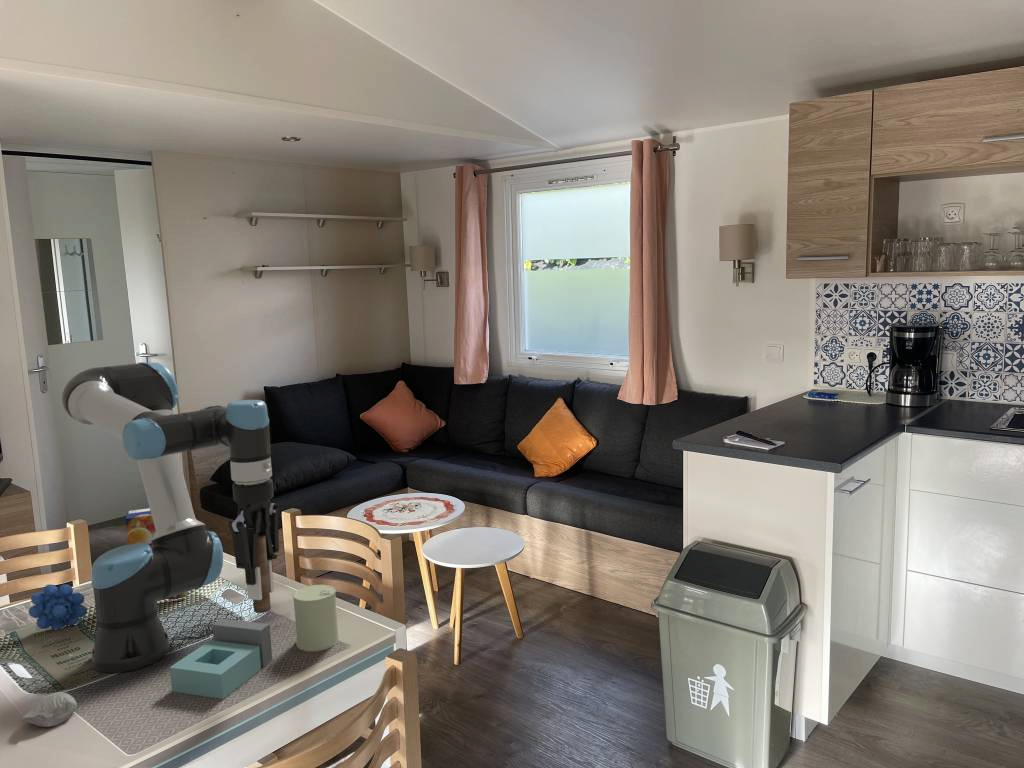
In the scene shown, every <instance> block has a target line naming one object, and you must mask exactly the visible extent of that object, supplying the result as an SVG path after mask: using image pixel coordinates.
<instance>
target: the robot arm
mask: <svg viewBox="0 0 1024 768" xmlns="http://www.w3.org/2000/svg"><path fill="white" fill-rule="evenodd" d="M178 390H179V389H178V385H177V382H176V379H175V378H174V376H173V374H172V373H171V370H169V369H168V367H166V366H165V365H163V364H162V363H159V362H140V361H139V362H138V363H137V362H136V363H129V364H119V365H110V366H98V367H91V368H88V369H85V370H82V371H79V373H77V374H76V375H74V376H73V377H72V378H71V379H69V381H68V382H67V383H66V385H65V386H64V388H63V391H62V396H61V403H62V406H63V408H64V410H65V412H66V414H68V416H69V417H71V418H72V419H73V420H75V421H77V422H79V423H81V424H84V425H88V426H89V425H92V426H93V425H94V426H96V427H99V428H100V429H103V430H105V431H106V432H107V433H109V434H112V435H113V436H115V437H117V438H119V439H121V440H122V445H123V448H124V450H125V452H126V453H127V455H128V457H129V458H131V459H132V460H134V461H135V460H136V463H137V466H138V469H139V473H140V476H141V480H142V483H143V484H142V485H143V487H144V491H145V495H146V498H147V499H146V500H147V503H148V506H149V508H150V510H151V514H152V518H153V521H154V525H155V529H156V532H155V534H154V536H153V537H152V539H151V543H152V546H153V547H152V548H151V547H150V546H149V545H148V544H146V543H134V544H132V545H129V544H128V543H127V544H123V545H121V546H118V547H114V548H113V549H110V550H108V551H106V552H104V553H103V554H101V555H100V556H98V557H97V559H95V561H94V562H93V564H92V567H91V575H92V579H91V586H92V588H93V595H94V596H93V597H94V599H93V600H94V606H95V614H96V615H95V616H96V622H97V631H96V634H95V638H94V644H93V645H94V646H93V648H92V651H91V665H92V668H93V669H94V670H96V671H98V672H102V673H108V674H109V673H123V672H130V671H134V670H137V669H141V668H143V667H144V668H145V667H147V666H150V665H151V664H154V663H156V662H158V661H159V660H161V659H163V658H164V657H165V656H167V654H168V653H169V651H170V639H169V635H168V633H167V632H166V631H165V628H164V625H163V623H162V622H161V619H160V618H159V616H158V615H159V614H158V608H157V606H158V604H157V601H160V600H163V599H166V598H169V597H172V596H175V595H178V594H181V593H184V592H187V593H188V592H191V591H193V590H198V589H201V588H202V587H205V586H207V585H211V584H213V583H214V582H215V581H217V579H218V578H219V577H220V576H221V574H222V573H221V572H222V568H223V565H224V551H223V546H222V542H221V540H220V538H219V537H218V535H217V533H216V532H214V531H210V530H207V528H206V524H205V523H204V522H202V521H200V520H198V519H197V518H196V516H195V512H194V509H193V504H192V500H191V498H190V497H191V496H190V494H189V490H188V486H187V482H186V479H185V476H184V473H183V470H182V469H183V468H182V465H181V462H180V458H179V455H178V454H181V453H185V452H189V451H196V450H201V449H206V448H213V447H219V446H224V447H228V449H229V460H230V477H231V481H233V483H232V498H233V499H232V500H233V501H234V503H236V504H237V505H238V510H237V517H236V518H235V520H229V521H228V528H229V530H230V532H231V536H232V543H233V545H232V546H233V552H234V560H235V565H236V568H237V569H241V570H242V569H243V570H244V573H245V583H246V585H247V586H246V587H247V588H246V590H247V598H248V600H252V601H253V600H261V599H262V588H261V575H260V567H257V537H258V534H261V535H265V537H266V551H267V564H268V578H269V592H270V593H273V592H274V591H275V589H274V576H273V574H274V573H273V571H274V569H273V567H274V566H273V560H276V559H277V558H278V554H276V553H278V552H279V550H280V545H279V543H280V540H279V539H280V538H279V536H280V535H279V534H280V533H279V514H280V504H279V503H272V501H271V499H273V498H274V497H275V496H274V482H273V479H272V477H273V468H272V459H271V457H272V455H271V452H272V451H271V437H270V418H269V414H268V413H269V412H268V407H267V406H268V405H267V404H266V403H265V401H263V400H260V399H244V400H243V399H241V400H235V401H231V402H228V403H227V404H226V405H227V406H222V405H218V404H217V405H207V406H204V407H202V408H200V409H198V410H195V411H194V410H193V411H187V412H181V413H174V411H173V409H174V408H175V407H176V406H177V404H178V402H179V395H178V393H179V391H178Z"/></svg>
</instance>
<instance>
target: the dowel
mask: <svg viewBox="0 0 1024 768" xmlns="http://www.w3.org/2000/svg"><path fill="white" fill-rule="evenodd" d="M257 567H260V575H261V588H262V599H261V600H253V599H252V602H253V603H252V604H253V605H252V607H253V612H254V613H255V614H256V613H257V614H262V613H266V612H267V613H268V612H270V610H271V606H272V605H271V596H270V595H271V594H270V592H269V578H268V564H267V551H266V537H265V535H261V534H258V537H257Z"/></svg>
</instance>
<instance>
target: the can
mask: <svg viewBox="0 0 1024 768" xmlns="http://www.w3.org/2000/svg"><path fill="white" fill-rule="evenodd" d="M292 597H293V607H294V609H293V610H294V619H295V621H294V622H295V632H296V633H295V634H296V635H295V636H296V643H295V644H296V647H297V649H299V650H301V651H303V650H304V652H319V651H324V650H328V649H330V648H332V647H334V646H335V645H337V644H338V642H339V641H340V635H339V628H338V617H337V598H336V588H335V586H332V585H328V584H312V585H307V586H303V587H301V588H299V589H297V590H296V591H294V593H293V595H292Z"/></svg>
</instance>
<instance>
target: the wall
mask: <svg viewBox="0 0 1024 768" xmlns="http://www.w3.org/2000/svg"><path fill="white" fill-rule="evenodd" d="M271 636H272V635H271V627H270V623H264V622H263V623H262V622H253V621H245V620H238V619H237V620H236V619H227V618H220V619H218V620H217V621H216V622H214V623H213V624H212V637H213V641H221V642H229V643H237V644H245V645H253V646H259V651H260V663H261V667H262V668H264V667H266V666H267V665H268V664H270V663H271V662H272V661H273V653H272V652H273V649H272V641H271V640H272V637H271Z"/></svg>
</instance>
